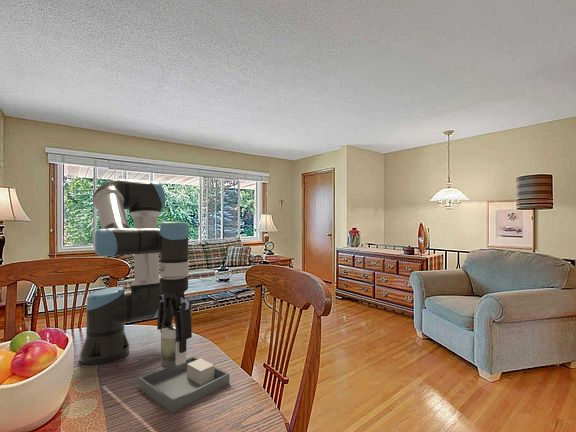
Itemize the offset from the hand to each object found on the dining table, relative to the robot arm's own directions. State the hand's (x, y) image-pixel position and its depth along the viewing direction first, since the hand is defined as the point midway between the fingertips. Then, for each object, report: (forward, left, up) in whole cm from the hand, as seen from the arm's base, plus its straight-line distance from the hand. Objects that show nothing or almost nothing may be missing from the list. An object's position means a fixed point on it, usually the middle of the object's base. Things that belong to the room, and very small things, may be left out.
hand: (173, 359), depth 86 cm
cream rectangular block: (0, +9, -9) cm, 12 cm away
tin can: (0, 0, -1) cm, 1 cm away
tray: (0, +4, -9) cm, 10 cm away
